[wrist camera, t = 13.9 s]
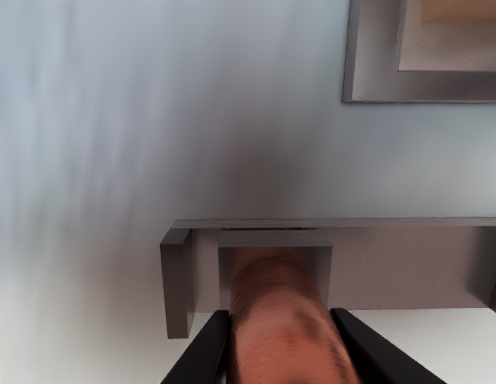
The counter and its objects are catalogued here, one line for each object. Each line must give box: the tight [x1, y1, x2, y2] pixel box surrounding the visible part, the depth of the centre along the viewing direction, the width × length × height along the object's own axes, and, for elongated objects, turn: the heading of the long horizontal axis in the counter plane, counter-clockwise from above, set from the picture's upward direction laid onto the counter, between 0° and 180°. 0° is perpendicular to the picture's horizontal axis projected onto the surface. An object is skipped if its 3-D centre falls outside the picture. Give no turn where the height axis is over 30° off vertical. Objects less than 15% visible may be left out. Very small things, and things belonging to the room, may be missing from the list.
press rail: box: [160, 218, 496, 339], centre depth 12 cm, size 15×4×2 cm, turn 90°
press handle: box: [218, 230, 364, 384], centre depth 8 cm, size 4×4×6 cm
